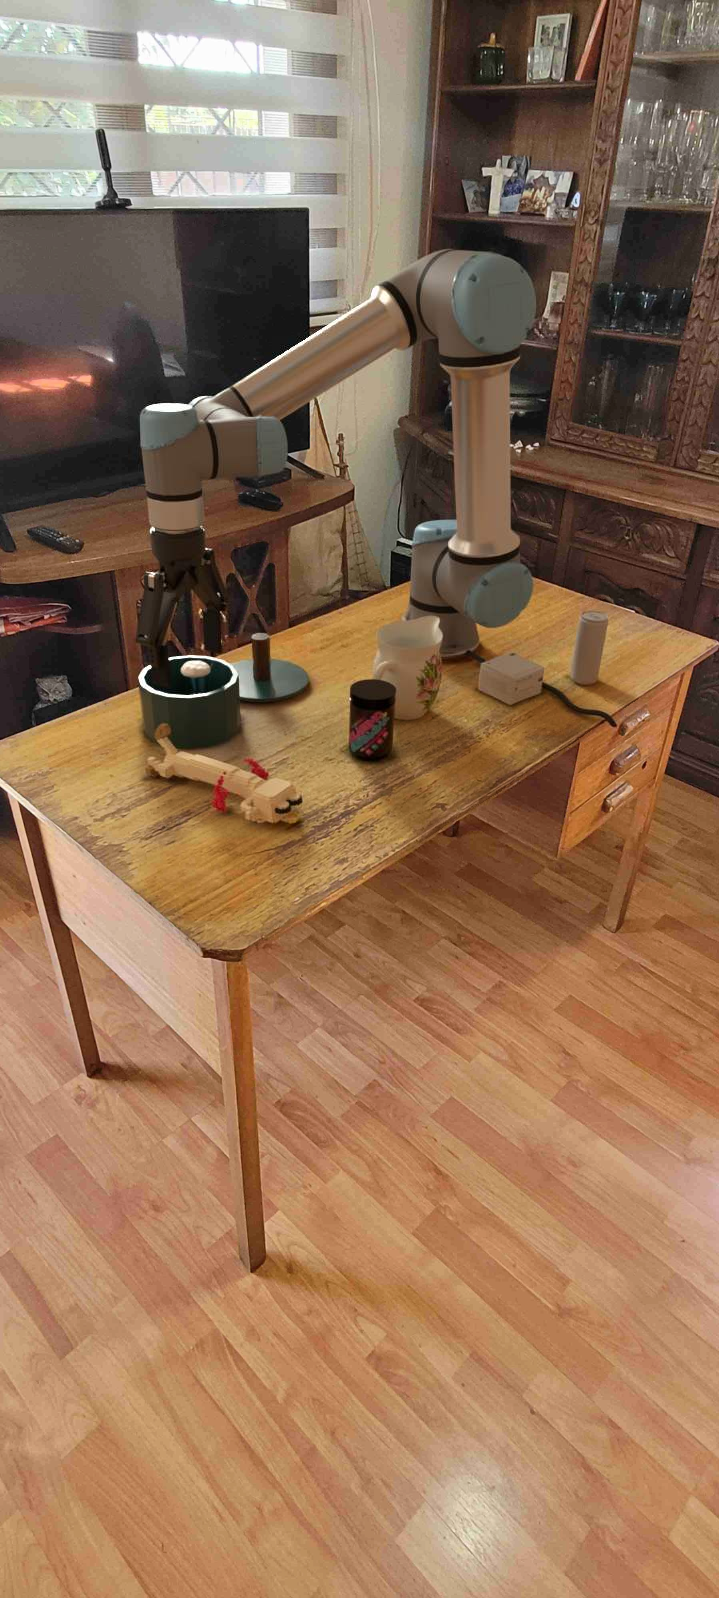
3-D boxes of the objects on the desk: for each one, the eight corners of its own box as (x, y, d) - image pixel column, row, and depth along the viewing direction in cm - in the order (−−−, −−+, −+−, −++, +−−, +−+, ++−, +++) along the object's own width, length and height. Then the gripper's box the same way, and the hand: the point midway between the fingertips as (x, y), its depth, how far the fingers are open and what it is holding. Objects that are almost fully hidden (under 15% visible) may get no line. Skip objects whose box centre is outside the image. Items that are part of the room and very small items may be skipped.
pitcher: (342, 723, 147) (344, 643, 139) (402, 684, 160) (406, 608, 152) (401, 744, 142) (406, 661, 134) (458, 701, 155) (465, 624, 147)
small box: (510, 706, 154) (514, 678, 151) (476, 689, 159) (479, 661, 156) (541, 694, 158) (546, 666, 155) (507, 677, 163) (511, 650, 160)
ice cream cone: (213, 724, 144) (209, 665, 139) (180, 721, 145) (175, 662, 140) (222, 711, 148) (218, 653, 143) (189, 708, 149) (185, 650, 143)
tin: (257, 716, 148) (256, 667, 143) (205, 757, 137) (201, 706, 132) (180, 696, 153) (176, 648, 149) (124, 733, 142) (118, 683, 137)
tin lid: (324, 676, 161) (325, 629, 157) (279, 713, 149) (278, 663, 145) (247, 657, 167) (245, 611, 162) (196, 691, 155) (193, 643, 150)
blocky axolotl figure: (137, 791, 131) (276, 840, 118) (127, 735, 126) (270, 780, 114) (186, 762, 138) (322, 806, 125) (178, 708, 133) (318, 748, 121)
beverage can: (585, 688, 160) (597, 623, 154) (563, 679, 163) (574, 614, 157) (602, 681, 163) (614, 616, 157) (580, 671, 166) (591, 608, 160)
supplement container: (338, 749, 140) (340, 687, 134) (372, 736, 144) (375, 674, 138) (368, 767, 136) (371, 704, 130) (402, 753, 140) (406, 691, 134)
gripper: (204, 500, 139) (213, 633, 151) (96, 546, 120) (116, 694, 132) (247, 508, 136) (253, 642, 148) (144, 555, 117) (159, 705, 129)
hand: (188, 667), depth 140 cm, fingers open, 13 cm apart
